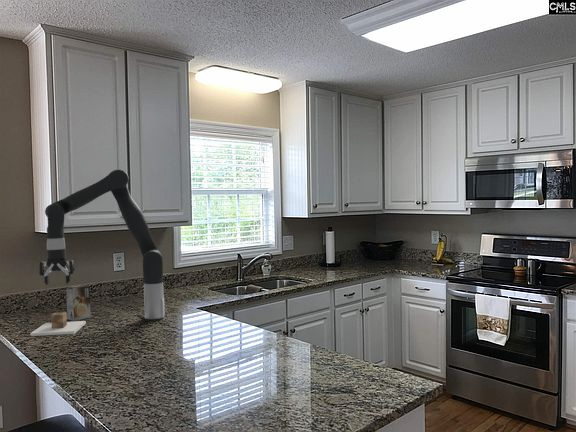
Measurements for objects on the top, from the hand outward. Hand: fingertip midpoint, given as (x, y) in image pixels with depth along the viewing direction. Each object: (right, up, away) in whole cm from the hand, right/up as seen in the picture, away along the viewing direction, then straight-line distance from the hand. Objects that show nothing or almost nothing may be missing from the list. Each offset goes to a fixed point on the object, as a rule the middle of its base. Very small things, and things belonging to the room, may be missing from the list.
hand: (57, 284), depth 216 cm
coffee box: (+1, -20, +21) cm, 29 cm away
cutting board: (0, -21, +1) cm, 21 cm away
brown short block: (0, -20, +1) cm, 20 cm away
